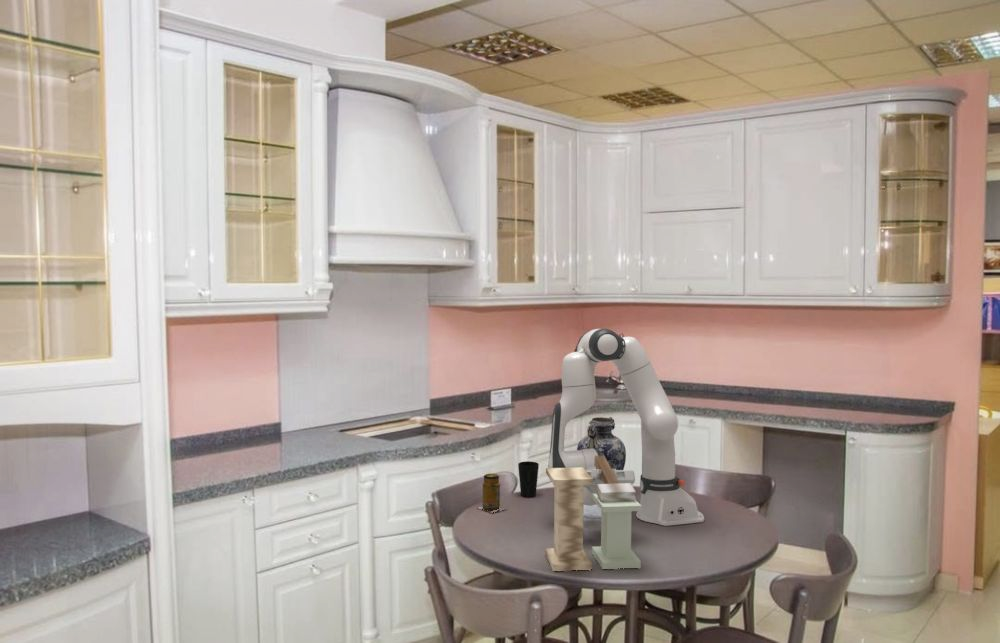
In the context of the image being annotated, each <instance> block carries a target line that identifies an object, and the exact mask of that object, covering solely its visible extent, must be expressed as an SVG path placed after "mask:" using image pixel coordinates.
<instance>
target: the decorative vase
mask: <svg viewBox="0 0 1000 643" xmlns="http://www.w3.org/2000/svg"><path fill="white" fill-rule="evenodd" d="M588 424H589V425H588V426H587V429H586V430H587V431H586V432H587V433H586V434H587V435H585V436H584V437H582V438H581V439H580V441H579V442H578V444H577V447H576V450H582V449H591V448H594V449H596V450H597V451H599V452H600V453H601V454H602V456H605V458H606V460H607V462H608V464H609V465H610V467H611V469H616V470H625V466H626V461H627V460H626V459H627V451H626V446H625V444H624V441H623V440H622V439H620V438H619V437H617V435H614V434H613V433H612V432H613V430H615V429H616V428H615V427H616V426H615V425H616V423H615V419H614V418H613V417H611V416H609V417H598V416H597V417H593V418H591V420H590V421H589V423H588Z"/></svg>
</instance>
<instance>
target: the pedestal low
mask: <svg viewBox="0 0 1000 643" xmlns="http://www.w3.org/2000/svg"><path fill="white" fill-rule="evenodd" d="M593 500H594V501H595V503H596V504H595V505H597V507H598V508H599V509H600V511H601V514H600V515H601V519H600V520H601V525H600V528H601V529H600V530H601V532H600V535H601V536H600V539H601V540H600V545H599V546H591V555H592V556H593V555H594V556H593V557H594V559H595V558H596V559H595V561H596V560H597V561H598V562H597V561H596V562H597V564H598V563H599V564H600V565H599V564H598V565H599V567H600V566H601V567H602V568H601V567H600V568H601V570H602V569H614V570H621V569H620V568H623V569H622V570H625V569H624V568H638V569H641V568H642V566H641V565H642V564H641V563H642V561H641V560H640V558H639V557H638V556H637V554H635V552H634V551H633V550H632V512H637V511H642V506H641V505H640V504H639V503H640V502H639V501H637V499H635V501H619V502H600V499H599V497H598V495H597V494H593ZM618 568H619V569H618Z"/></svg>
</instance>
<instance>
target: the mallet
mask: <svg viewBox="0 0 1000 643" xmlns="http://www.w3.org/2000/svg"><path fill="white" fill-rule="evenodd" d="M594 465H595V467H596V469H602V475H601V476H600V477H601V479H602V481H603V483H604V484H597V495H598V497H599V499H600V502H619V501H635V500H636V492H637V491H636V489H635V488H634V486H633V485H632V484H631V483H619V482H618V480H617V478H616V477H615V475H614V473H613V471H612V469H611V467H610V465H609V464H608V462H607V460H606V458H605V456H595V461H594Z"/></svg>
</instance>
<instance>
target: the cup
mask: <svg viewBox="0 0 1000 643" xmlns="http://www.w3.org/2000/svg"><path fill="white" fill-rule="evenodd" d="M517 467H518V476H519V490H520V491H519V492H520V497H523V498H527V499H529V498H532V499H533V498H535V497H536V495H537V489H538V487H537V486H538V485H537V484H538V478H539V477H538V476H539V468H540V464H539V463H538V462H536V461H519V463H518V465H517Z"/></svg>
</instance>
